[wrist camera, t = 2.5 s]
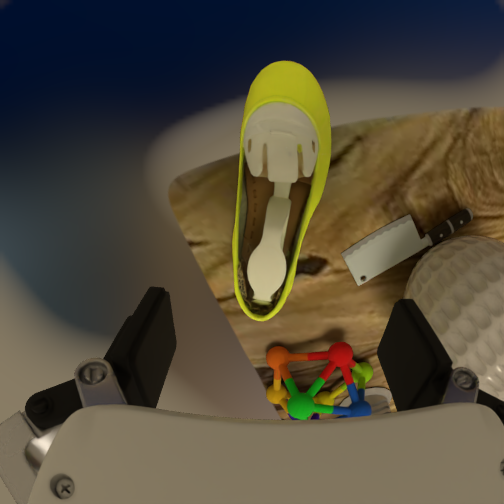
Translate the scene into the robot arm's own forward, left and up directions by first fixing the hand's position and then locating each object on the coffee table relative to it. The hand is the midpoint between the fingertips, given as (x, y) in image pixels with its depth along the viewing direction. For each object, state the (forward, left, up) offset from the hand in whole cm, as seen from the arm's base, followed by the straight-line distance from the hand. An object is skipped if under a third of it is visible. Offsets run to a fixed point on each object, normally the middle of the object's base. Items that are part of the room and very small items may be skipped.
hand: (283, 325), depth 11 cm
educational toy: (+23, +21, -13) cm, 34 cm away
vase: (-4, +21, -18) cm, 28 cm away
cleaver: (-7, +12, -18) cm, 23 cm away
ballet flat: (-1, 0, -19) cm, 19 cm away
